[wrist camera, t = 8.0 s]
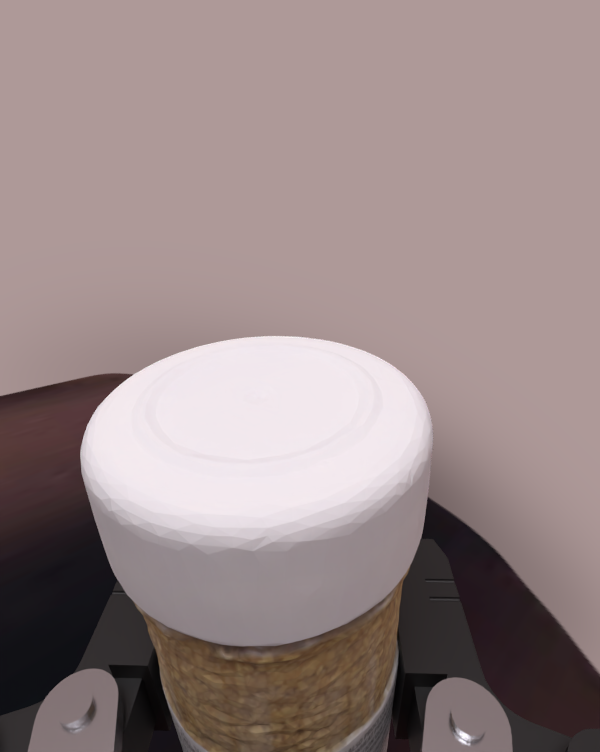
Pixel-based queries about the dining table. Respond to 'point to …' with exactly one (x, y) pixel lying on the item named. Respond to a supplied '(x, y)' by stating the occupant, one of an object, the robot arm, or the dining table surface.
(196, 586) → the sprinkles bottle
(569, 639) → the dining table surface
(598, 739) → the robot arm
